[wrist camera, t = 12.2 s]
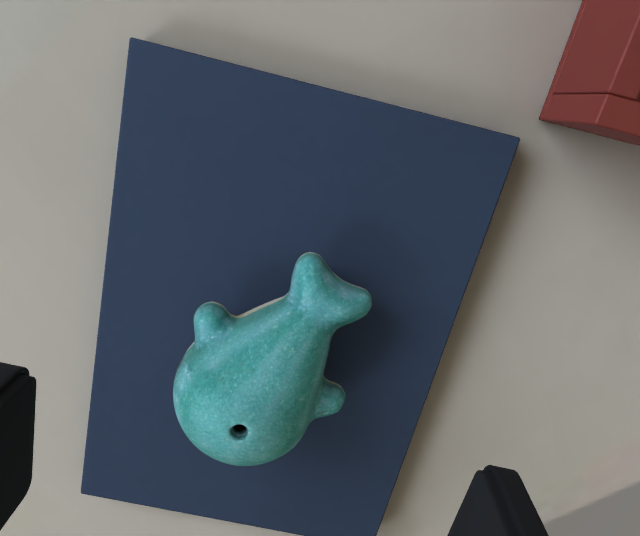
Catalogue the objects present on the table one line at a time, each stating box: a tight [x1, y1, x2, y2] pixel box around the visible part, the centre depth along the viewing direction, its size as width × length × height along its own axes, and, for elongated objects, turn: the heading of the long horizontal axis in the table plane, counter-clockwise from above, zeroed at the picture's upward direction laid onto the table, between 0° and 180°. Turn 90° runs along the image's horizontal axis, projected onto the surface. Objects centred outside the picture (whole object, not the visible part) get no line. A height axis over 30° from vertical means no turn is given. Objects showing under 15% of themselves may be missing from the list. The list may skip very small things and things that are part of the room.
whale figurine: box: [173, 252, 372, 466], centre depth 16 cm, size 6×7×4 cm
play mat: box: [81, 38, 520, 536], centre depth 18 cm, size 17×12×1 cm
